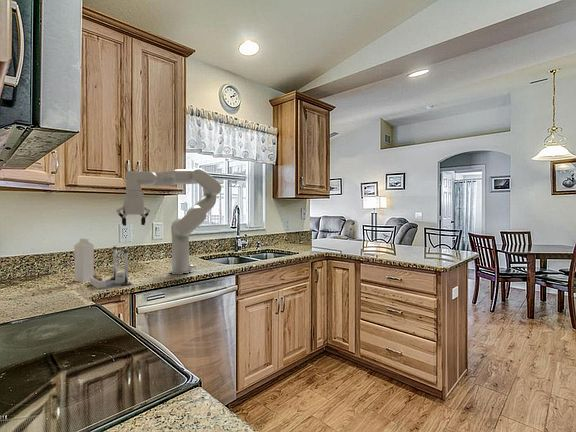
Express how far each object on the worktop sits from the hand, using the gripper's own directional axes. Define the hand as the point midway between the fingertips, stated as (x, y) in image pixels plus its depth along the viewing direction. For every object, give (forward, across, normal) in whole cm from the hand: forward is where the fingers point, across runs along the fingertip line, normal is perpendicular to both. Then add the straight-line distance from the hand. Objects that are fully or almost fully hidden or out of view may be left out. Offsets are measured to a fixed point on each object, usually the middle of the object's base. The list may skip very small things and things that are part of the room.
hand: (133, 225), depth 178 cm
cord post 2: (+27, +11, +22) cm, 37 cm away
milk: (+28, +23, -3) cm, 37 cm away
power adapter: (+28, +11, +14) cm, 33 cm away
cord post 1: (+27, +11, +5) cm, 30 cm away
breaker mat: (+28, +16, +14) cm, 35 cm away
